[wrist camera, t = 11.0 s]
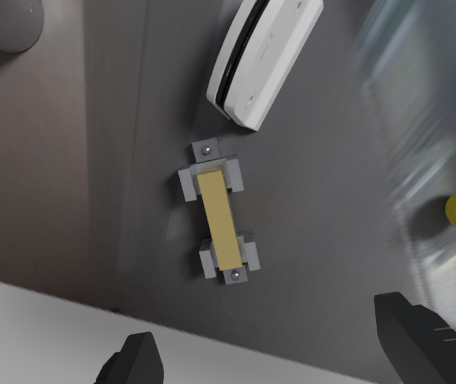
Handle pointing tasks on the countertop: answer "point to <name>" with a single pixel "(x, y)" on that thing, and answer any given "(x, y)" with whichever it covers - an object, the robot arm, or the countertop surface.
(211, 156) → the linkage with metal pins
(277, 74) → the white rounded housing
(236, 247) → the link bar
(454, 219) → the lemon
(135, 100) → the countertop surface
